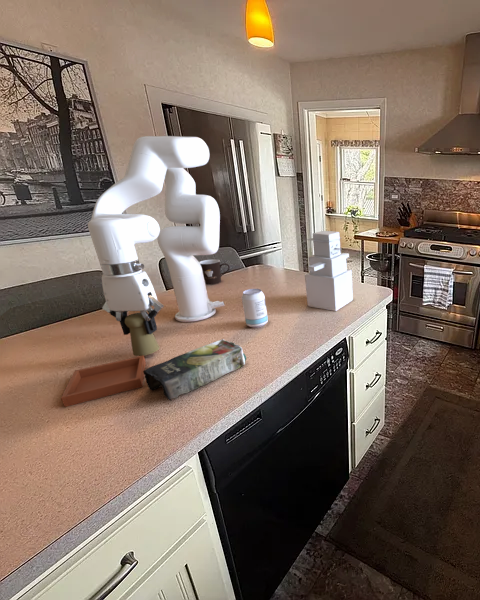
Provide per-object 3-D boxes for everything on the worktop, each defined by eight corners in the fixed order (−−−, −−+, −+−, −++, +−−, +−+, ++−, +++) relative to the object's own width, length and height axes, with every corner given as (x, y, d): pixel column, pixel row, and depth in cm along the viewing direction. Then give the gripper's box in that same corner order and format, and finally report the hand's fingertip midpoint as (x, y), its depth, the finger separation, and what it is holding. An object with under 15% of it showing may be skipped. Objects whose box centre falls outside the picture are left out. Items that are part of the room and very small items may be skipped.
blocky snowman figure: (298, 311, 122) (290, 236, 112) (333, 292, 142) (328, 227, 132) (327, 316, 117) (321, 239, 107) (359, 296, 138) (356, 229, 128)
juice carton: (228, 353, 92) (224, 333, 90) (250, 363, 88) (246, 343, 85) (148, 390, 76) (140, 368, 74) (169, 405, 72) (162, 382, 69)
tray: (145, 362, 87) (143, 355, 87) (142, 386, 78) (139, 378, 77) (78, 378, 80) (74, 370, 80) (64, 407, 71) (60, 397, 70)
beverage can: (254, 319, 114) (249, 287, 110) (272, 321, 113) (267, 288, 109) (242, 327, 108) (235, 294, 104) (260, 330, 107) (255, 295, 102)
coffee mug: (198, 284, 150) (193, 263, 146) (211, 279, 158) (207, 259, 154) (221, 286, 148) (217, 264, 145) (233, 280, 156) (229, 260, 152)
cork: (145, 357, 87) (134, 320, 83) (127, 354, 88) (115, 317, 85) (164, 346, 93) (155, 311, 89) (147, 344, 94) (136, 309, 90)
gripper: (165, 264, 86) (181, 326, 93) (98, 264, 85) (118, 326, 92) (146, 272, 79) (165, 338, 86) (73, 272, 78) (97, 339, 85)
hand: (140, 331), depth 89 cm, fingers closed on cork, 5 cm apart
